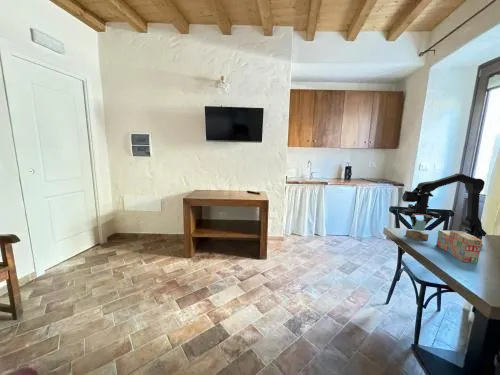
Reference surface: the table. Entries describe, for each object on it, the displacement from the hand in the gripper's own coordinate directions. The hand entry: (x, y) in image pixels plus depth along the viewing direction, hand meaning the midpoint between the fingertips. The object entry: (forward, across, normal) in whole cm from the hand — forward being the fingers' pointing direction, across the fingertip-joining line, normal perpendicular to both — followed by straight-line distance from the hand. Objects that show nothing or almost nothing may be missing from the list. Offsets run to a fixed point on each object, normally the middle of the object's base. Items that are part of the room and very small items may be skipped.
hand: (418, 226), depth 137 cm
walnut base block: (+7, 0, 0) cm, 7 cm away
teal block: (+2, 0, 0) cm, 2 cm away
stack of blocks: (+7, -10, +20) cm, 23 cm away
